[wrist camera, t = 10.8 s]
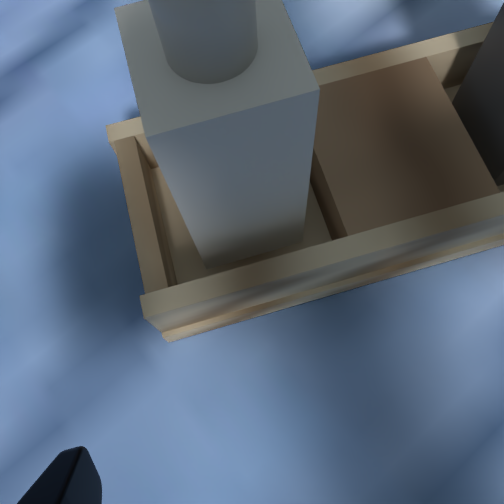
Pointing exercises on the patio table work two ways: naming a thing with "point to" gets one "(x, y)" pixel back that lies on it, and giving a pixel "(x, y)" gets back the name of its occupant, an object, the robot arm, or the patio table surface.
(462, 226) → the tray
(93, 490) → the robot arm
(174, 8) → the grey plug
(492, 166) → the black plug
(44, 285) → the patio table surface
